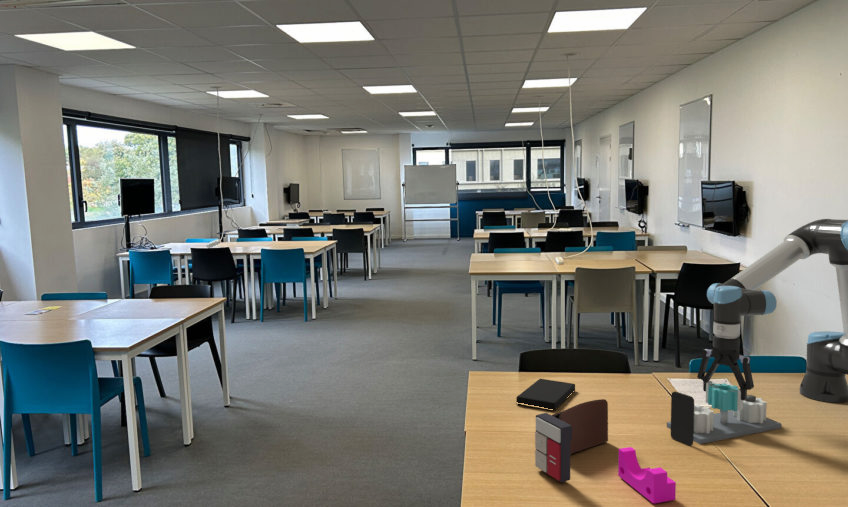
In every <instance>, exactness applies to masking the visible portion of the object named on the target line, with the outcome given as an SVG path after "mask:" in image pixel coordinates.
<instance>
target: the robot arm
mask: <svg viewBox="0 0 848 507" xmlns="http://www.w3.org/2000/svg"><path fill="white" fill-rule="evenodd" d="M816 254H817V255H818V254H826V255H828V260H829V262H828V263H829V264H830V265H831V266H833V267H834V268H835V272H836V280H837V286H838V288H837V290H838V295H839V296H838V297H839V302H840V312H841V320H842V329H843V332H842V331H826V330H825V331H813V332H810V333H809V334H808V335H807V336H808V337H807V342H806V365H805V366H806V370H805V374H804V375H803V378H802V381H801V383H800V385H799V393H800V394H801V395H802V396H804V397H806V398H808V399H812V400H816V401H820V402H825V403H826V402H827V403H845V402H848V381H847V378H846V375H848V219H833V218H822V219H817V220H814V221H811V222H807V223H806V224H804V225H802V226H800V227H798V228H796V229H795V230H793V231H792V232H791V233H789V234H787V235H786V236H785V237H784V238H783V242H781V243H780V244H778V245H777V246H776V247H774V248H773V249H771V250H770V251H768V252H767V253H766V254H764V255H763V256H761V257H760V258H759V259H757V260H755V261H754V262H753V263H751V264H750V265H748V266H747V267H746V268H743V269H742V270H741V271H739V273H737V274H735V275H734V276H733V277H731V278H729V279H728V280H727V281H725V282H724V283H720V282H718V283H717V282H716V283H712V284H711V285H710V286H709V287H708V288H707V290H706V297H707V300H708V302H709V303H711V304H713V325H712V328H713V329H712V330H713V331H712V333H713V334H714V335H712V349H708V348H705V349H703V350H702V351H701V354H702V358H701V362H700V366H699V369H698V372H697V376H696V377H697V379H699V380H701V381H703V382H702V385H703V386H702V388H703V389H702V390H703V392H705V403H706V404H708V393H709V386H712V384H713V381H712V380H711V378H712V377H713V375H714V373H715V372H716V370H717V369H718V367H719V366H726V367H729V368H730V370H732V373H733V376H734V377H735V380H736V382H737V384H738V387H739V388H738V389H739V390H738V397H737V410H738V411H740V410H742V409H743V400H746V398H747V395H748V391H751V390H752V389H754V388H755V384H754V379H753V374H752V370H751V364H750V363H751V356H748V355H747V356H745V355H742V354H741V352H740V348H741V347H740V346H741V345H740V344H741V339H740V335H741V322H742V321H741V320H742V317H747V316H748V317H749V316H760V315H761V316H763V315H764V316H765V315H770V314H772V313H774V312H775V310H776V308H777V298H776V296H775V294H774V293H773V292H772V291H769V290H762V289H760V290H758V289H759V288H761V287H762V286H764V285H765V284H766V283H768V282H769V281H770V280H772V279H773V278H775V277H776V276H777V275H779V274H780V273H782V272H783V271H785V270H786V269H788V268H790V266H791V265H793V264H795V263H797V262H798V261H799V260H805V259H808V258H809V257H810V256H812V255H816ZM711 355H712V356H713V358H714V360H713V362H712V363H711V366H710V367H709V368H708V364H709V360H710V357H711ZM739 360H740V363H742V371H743V374H742V371H741V369H740V366H739V363H738V361H739ZM707 368H708V370H707ZM743 375H744V376H743Z"/></svg>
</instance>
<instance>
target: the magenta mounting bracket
mask: <svg viewBox="0 0 848 507" xmlns="http://www.w3.org/2000/svg"><path fill="white" fill-rule="evenodd" d="M617 464H618V471H617V472H618V474H617V475H618V477H620V479H622V480H624V481H625V483H627V484H628V485H630V486H631V487H632V488H633V489H634V490H636V491H637V492H638V493H640V494H641V495H642V496H643V497H645V498H646V499H647V501H650V502H651V503H652V504H659V503H665V502H669V501H675V500H676V493H677V492H676V491H677V488H676V487H677V482H676V481H674V480H673V479H671V478H670V477H669V476H668V472H667V470H665V469H664V468H662V467H661V466H660V467H655V468H651V467H644V468H642V467H641V465H640V463H639V460H638V458H637V452H636V449H635V448H633V447H632V446H628V447H621V448H618V463H617Z"/></svg>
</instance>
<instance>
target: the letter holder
mask: <svg viewBox="0 0 848 507" xmlns="http://www.w3.org/2000/svg"><path fill="white" fill-rule="evenodd" d="M608 406H609V404H608V401H607V399H603V398H602V399H601V398H600V399H594V400H589V401H585V402H581V403H579V404H576V405H573V406H571V407H569V408H566V409H564V410H563V411H559V412H556V413H553V414H551V415H552V416H554V417H556V418H558V419H560V420H562V421H564V422H566V423H568V424H570V425H571V426H572V440H571V443H570V455H572V454H575V453H577V452H581V451H583V450H587V449H589V448H593V447H595V446H598V445H601V444H604V443H607V442H609V407H608Z"/></svg>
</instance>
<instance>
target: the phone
mask: <svg viewBox="0 0 848 507" xmlns="http://www.w3.org/2000/svg"><path fill="white" fill-rule="evenodd" d="M670 397H671V399H670V400H671V402H670V404H671V405H670V422H671V429H670V437H671V439H672V440H674V441H677V442H679V443H682V444H684V445H686V446H689V447H690V446H693V445H694V441H693V434H694V405H695V399H694V397H693V396H691V395H688V394H685V393H682V392H679V391H672V392H671V396H670Z"/></svg>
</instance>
